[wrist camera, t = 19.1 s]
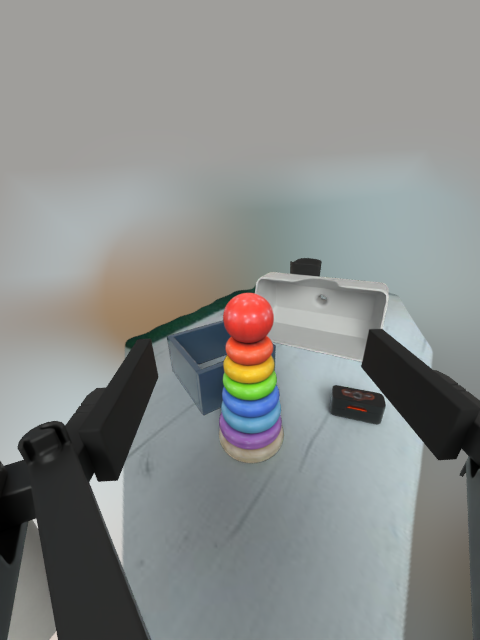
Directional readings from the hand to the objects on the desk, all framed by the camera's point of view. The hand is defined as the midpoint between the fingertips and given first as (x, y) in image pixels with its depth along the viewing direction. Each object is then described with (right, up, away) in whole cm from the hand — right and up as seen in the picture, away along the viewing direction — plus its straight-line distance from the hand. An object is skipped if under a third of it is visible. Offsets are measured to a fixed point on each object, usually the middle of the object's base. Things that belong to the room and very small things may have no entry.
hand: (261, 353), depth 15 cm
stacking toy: (0, -13, +16) cm, 21 cm away
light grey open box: (+15, -1, +42) cm, 44 cm away
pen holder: (+19, +11, +68) cm, 71 cm away
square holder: (-5, -8, +28) cm, 29 cm away
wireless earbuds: (+15, -11, +20) cm, 27 cm away
